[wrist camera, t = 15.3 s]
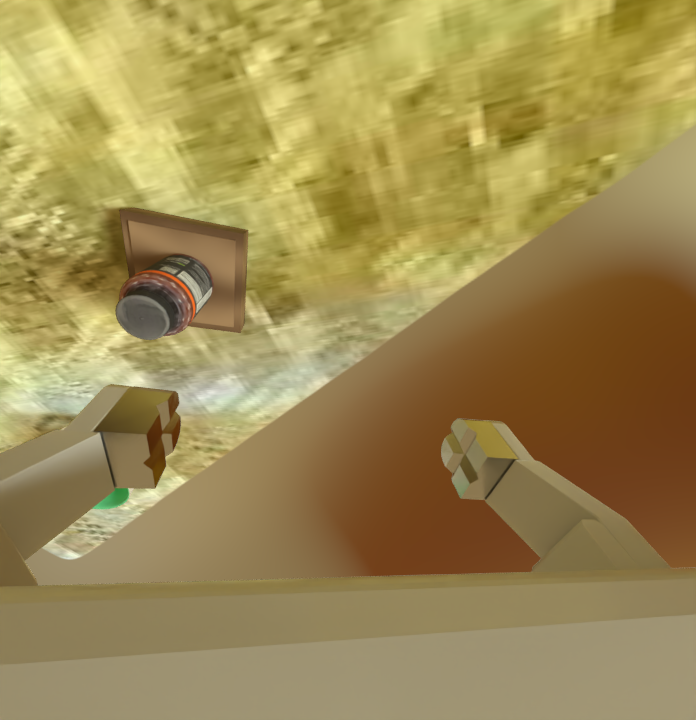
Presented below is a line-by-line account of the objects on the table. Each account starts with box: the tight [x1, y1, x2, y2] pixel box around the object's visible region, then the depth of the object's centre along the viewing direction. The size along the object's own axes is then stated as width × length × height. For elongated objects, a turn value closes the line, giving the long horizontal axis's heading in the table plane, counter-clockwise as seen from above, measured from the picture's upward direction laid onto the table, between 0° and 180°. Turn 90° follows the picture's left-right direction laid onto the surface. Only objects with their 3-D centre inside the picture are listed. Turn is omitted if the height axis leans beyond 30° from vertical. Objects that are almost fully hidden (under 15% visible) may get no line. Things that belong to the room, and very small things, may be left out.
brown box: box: [119, 208, 248, 333], centre depth 35 cm, size 12×12×3 cm
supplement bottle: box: [116, 254, 214, 340], centre depth 29 cm, size 6×6×11 cm
